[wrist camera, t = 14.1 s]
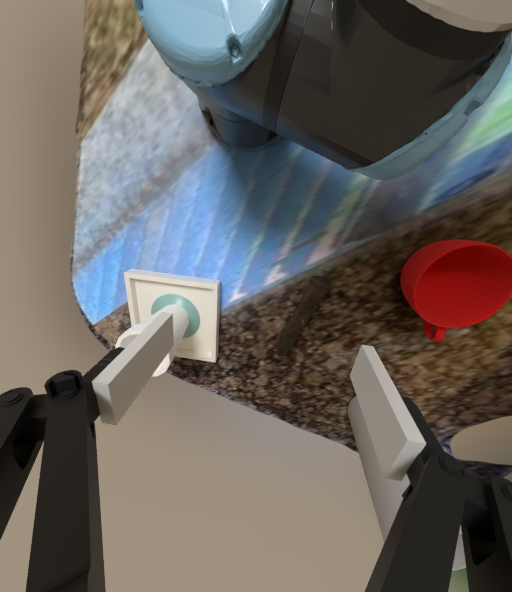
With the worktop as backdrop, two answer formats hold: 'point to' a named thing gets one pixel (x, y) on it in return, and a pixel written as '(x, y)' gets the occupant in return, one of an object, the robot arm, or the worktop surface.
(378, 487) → the cylinder vase
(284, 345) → the hand tool
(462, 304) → the ceramic cup
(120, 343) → the foam cup
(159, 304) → the square white tray
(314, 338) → the worktop surface
